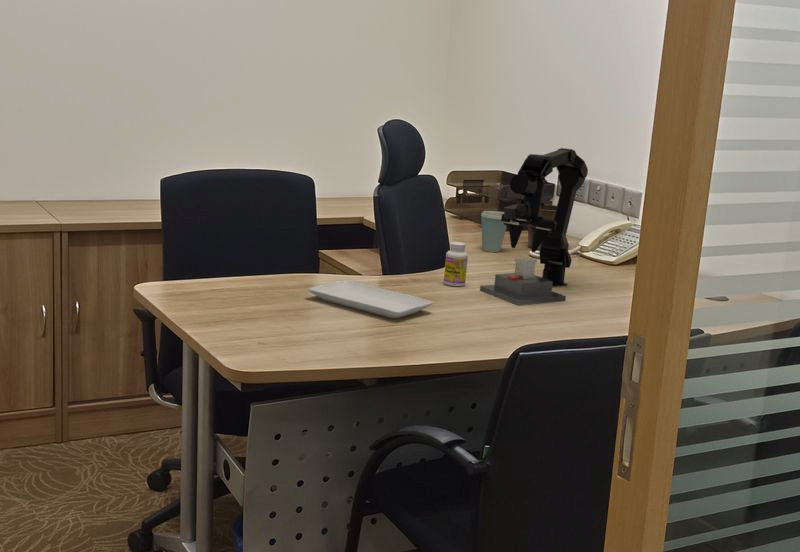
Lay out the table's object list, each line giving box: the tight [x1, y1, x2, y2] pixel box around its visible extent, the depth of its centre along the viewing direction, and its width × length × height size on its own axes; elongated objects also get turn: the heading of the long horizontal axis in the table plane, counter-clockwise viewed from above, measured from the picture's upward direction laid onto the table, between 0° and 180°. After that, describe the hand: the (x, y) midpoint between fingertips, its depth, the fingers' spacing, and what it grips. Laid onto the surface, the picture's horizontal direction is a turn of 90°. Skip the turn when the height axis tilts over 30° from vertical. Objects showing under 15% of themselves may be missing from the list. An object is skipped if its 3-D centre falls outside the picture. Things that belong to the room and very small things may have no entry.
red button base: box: [479, 272, 567, 306], centre depth 275 cm, size 18×18×6 cm
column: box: [514, 257, 538, 280], centre depth 275 cm, size 6×4×11 cm
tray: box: [307, 279, 434, 319], centre depth 251 cm, size 17×31×4 cm, turn 53°
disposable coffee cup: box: [480, 210, 508, 253], centre depth 344 cm, size 11×11×15 cm
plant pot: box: [527, 203, 557, 251], centre depth 357 cm, size 16×16×16 cm
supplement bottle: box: [443, 241, 469, 288], centre depth 283 cm, size 7×7×13 cm
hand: (523, 250), depth 273 cm, fingers open, 9 cm apart
